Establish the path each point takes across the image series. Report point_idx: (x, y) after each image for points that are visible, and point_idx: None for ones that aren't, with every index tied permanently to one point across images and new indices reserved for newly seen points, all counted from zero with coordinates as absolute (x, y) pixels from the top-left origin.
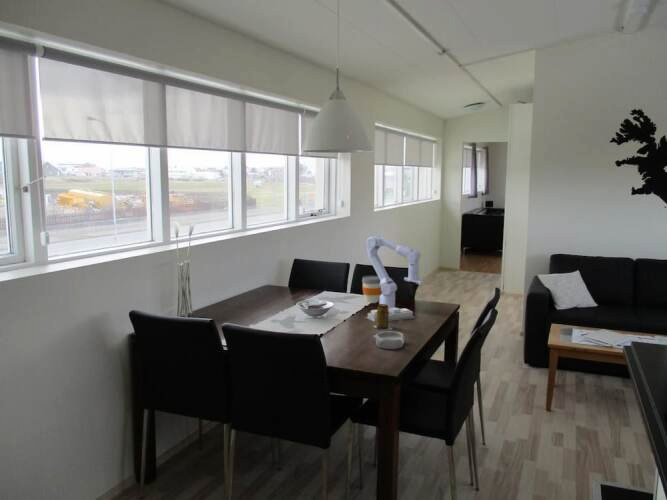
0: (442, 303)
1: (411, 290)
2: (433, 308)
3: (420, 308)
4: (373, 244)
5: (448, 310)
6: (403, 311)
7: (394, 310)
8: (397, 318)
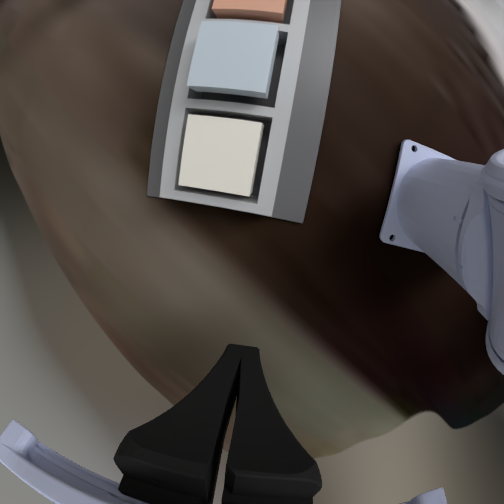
0: None
1: (220, 385)
2: None
3: (308, 374)
4: None
5: None
6: (189, 120)
7: (201, 28)
8: None
